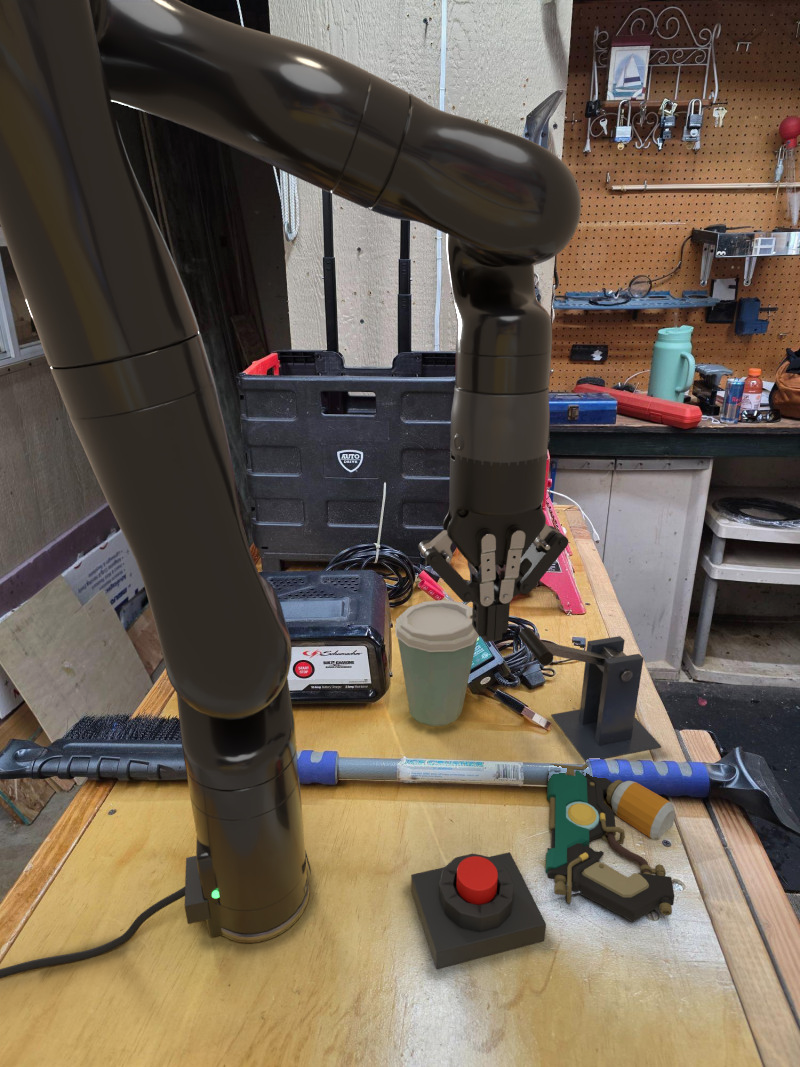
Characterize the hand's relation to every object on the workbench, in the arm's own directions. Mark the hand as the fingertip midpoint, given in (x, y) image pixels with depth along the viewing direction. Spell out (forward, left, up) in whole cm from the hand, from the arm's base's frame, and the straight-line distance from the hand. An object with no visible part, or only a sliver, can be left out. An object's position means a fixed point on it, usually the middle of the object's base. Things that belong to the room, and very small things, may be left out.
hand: (489, 636), depth 60 cm
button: (-3, -7, -21) cm, 23 cm away
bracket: (+21, +12, -25) cm, 35 cm away
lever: (+16, +12, -13) cm, 24 cm away
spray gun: (+12, -3, -25) cm, 28 cm away
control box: (-3, -7, -25) cm, 26 cm away
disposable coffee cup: (+2, +22, -25) cm, 33 cm away
